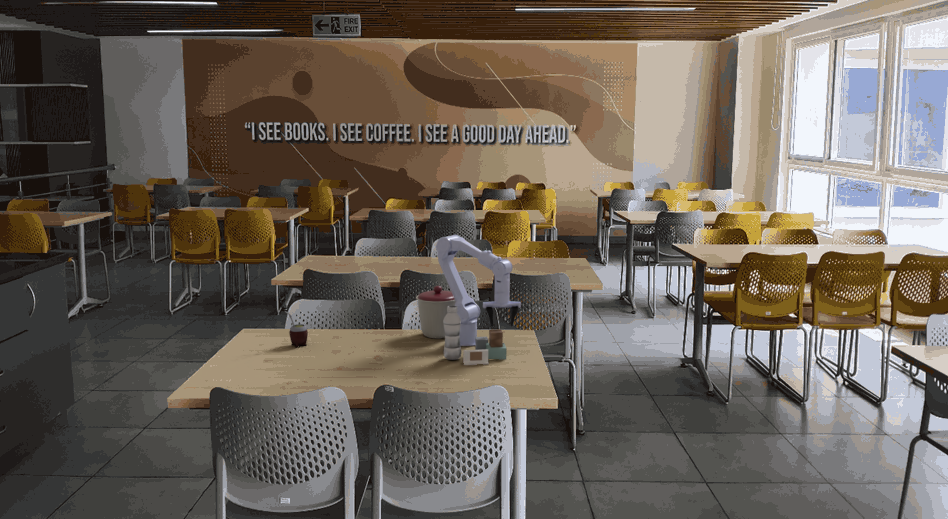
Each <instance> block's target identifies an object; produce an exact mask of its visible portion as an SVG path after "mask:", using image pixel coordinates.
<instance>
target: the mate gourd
mask: <svg viewBox="0 0 948 519" xmlns="http://www.w3.org/2000/svg"><path fill="white" fill-rule="evenodd" d="M284 312H285V314H287V315H288V317H289V318H290V320H291V324H292V325H291V327H290V328H289V332H288V333H289V338H290V345H291V346H295V348H296V349H297V348H299V347H307V346H308V345H307V342H308V335H309V331H308V328H307V326H306V325H305V324H301V323H300V324H299V323H298V324H295V322H294V320H293V317H292V316H293V315H291V313H289V312H288V311H286V310H284Z"/></svg>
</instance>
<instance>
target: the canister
mask: <svg viewBox="0 0 948 519" xmlns="http://www.w3.org/2000/svg"><path fill="white" fill-rule="evenodd" d="M415 300H417V305H418V308H417V309H418V316H419V321H420V322H419V323H420V329H421V332H422V334H423V336H425V337H427V338H430V339H445V329H444V323H443V320H444V317H445V316H446V315H447V313H448V312H447V307H448V306H454V305H455V303H456V301H455V298H454V296H453V294H452V292H451V290H450V291H449V290H443V287H442V286H441V285H435V286H434V287H433V290H428V291H423V292H421V293H419V294H418V295H416V297H415Z"/></svg>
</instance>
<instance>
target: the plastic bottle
mask: <svg viewBox="0 0 948 519" xmlns="http://www.w3.org/2000/svg"><path fill="white" fill-rule="evenodd" d="M447 312H448V313H447V315H446V316H445V317H444V320H443V323H444V329H445V338H444V347H443V357H444V359H446V360H448V361H450V360H451V361H455V360H459V359H460V358H461V357H462V353H463V352H462V346H460V326H461V319H460V317H459V315H458V314H457V312H458V310H457V306H448V307H447Z"/></svg>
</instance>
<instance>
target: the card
mask: <svg viewBox="0 0 948 519" xmlns="http://www.w3.org/2000/svg"><path fill="white" fill-rule="evenodd" d="M462 351H463V352H462V353H463V358H462V360H463V361H462V363H464V364H463V366H477V364H483V365H489V360H488V350H475V349H465V350H464V349H463V350H462Z"/></svg>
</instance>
